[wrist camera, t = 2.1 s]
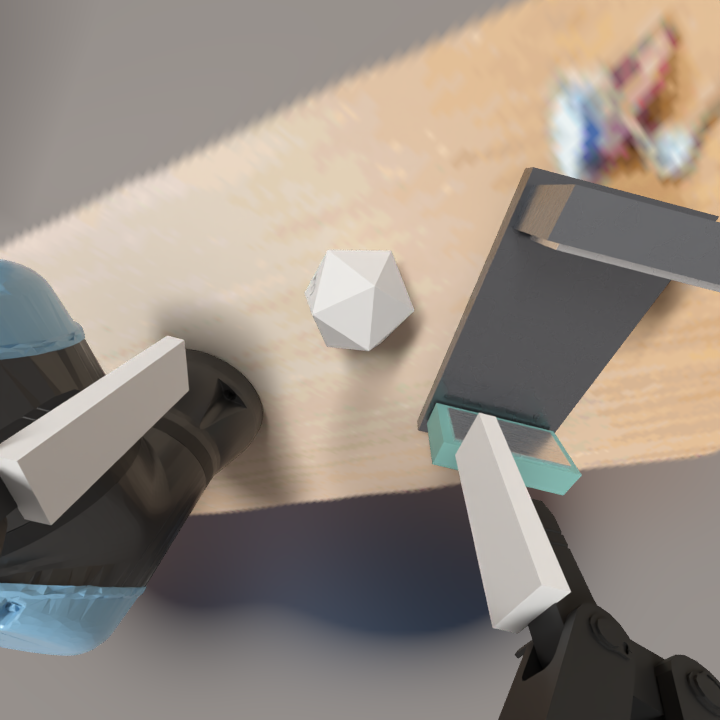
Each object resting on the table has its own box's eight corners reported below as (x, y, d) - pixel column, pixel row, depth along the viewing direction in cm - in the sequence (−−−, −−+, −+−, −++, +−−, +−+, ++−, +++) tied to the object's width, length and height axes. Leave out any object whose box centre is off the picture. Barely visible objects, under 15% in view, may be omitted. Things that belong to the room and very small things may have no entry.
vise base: (417, 421, 36) (422, 473, 29) (525, 168, 23) (577, 161, 16) (530, 448, 36) (559, 505, 30) (701, 214, 23) (820, 225, 17)
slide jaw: (426, 423, 34) (432, 464, 29) (437, 399, 32) (445, 438, 27) (538, 450, 34) (563, 495, 29) (555, 428, 32) (584, 472, 27)
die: (390, 221, 26) (300, 226, 20) (450, 299, 25) (373, 331, 18) (347, 284, 32) (268, 302, 26) (394, 349, 31) (321, 386, 24)
